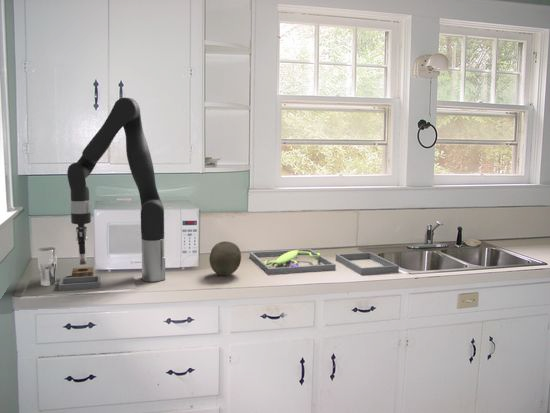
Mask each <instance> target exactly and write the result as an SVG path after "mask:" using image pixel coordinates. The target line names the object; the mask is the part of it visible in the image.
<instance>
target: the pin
mask: <svg viewBox="0 0 550 413" xmlns="http://www.w3.org/2000/svg"><path fill="white" fill-rule="evenodd" d="M84 237H85V236H84ZM88 239H89V238H88V236H87V235H86V239H85V254H79V253H78V262H79V265H87V264H88V263H87V261H88V260H87V244H86V243H87V242H86V241H88ZM75 241H76V242H78V239H77V236H76V238H75ZM81 241H83V240H80V242H81Z"/></svg>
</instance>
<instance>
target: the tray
mask: <svg viewBox="0 0 550 413" xmlns="http://www.w3.org/2000/svg"><path fill="white" fill-rule="evenodd" d="M101 279H102V278H101V275H93V276H85V277H72V276H70V277H60V279H59V283H58V291H68V290H69V291H70V290H71V291H73V290H85V289H100V288H101V283H102V282H101Z"/></svg>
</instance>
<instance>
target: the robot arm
mask: <svg viewBox="0 0 550 413" xmlns="http://www.w3.org/2000/svg"><path fill="white" fill-rule="evenodd" d="M141 115H142V114H141V108H140V105H139V103H138V102H137V100H135V99H134V98H131V97H120V98H119V99H117V100H116V101H115V102H114V104H113V106H112V108H111V110H110V113H109V114H108V116H107V118H106V120H104V122H103V124H102V126H101V127H100V128H99V129H98V131H97V132H95V134H94V136H93V137H92V139H91V140H89V142H88V143H87V145H86V146H85V147H84V148H83V150H82V151H81V152H82V153H81V154H82V155H81V156H80V158H79V159H78V160H77V162H73V163H71V164H70V165H68V167H67V173H66V174H67V175H66V176H67V181H68V185H69V188H70V220H71V224H73V225H77V227H75V232H76V237H77V239H78V241H77V245H78V255H79V254H85V239H86V236H87V231H88V229H87V228H88V227H87V226H86V225H87V224H91V222H92V216H91V213H92V212H91V211H92V210H91V203H90V188H89V187H88V186H87V181H86V179H87V178H88V177H89V176H90V175H91V174H92V172H93V170H94V169H95V167H96V165H97V163H98V161H100V160H101V158H102V157H103V156H104V155H105V153H106V152H107V150H108V149H109V148H110V146H111V145H112V142H113V140H114V138H115V137H116V136H117V134H119V131H121V129H122V128H123V131H124V136H125V149H126V158H127V161H128V165H129V166H128V167H129V169H130V173H131V175H132V178H133V181H134V182H135V185H136V187H137V190H138V193H139V194H138V195H139V198H140V199H139V201H140V207H141V208H140V234H141V235H140V236H141V276H142V277H141V279H142V281H144V282H160V281H164V280H165V281H166V256H165V208H164V204H163V202H162V199H161V197H160V195H159V192H158V188H157V184H156V177H155V176H156V175H155V171H154V170H155V169H154V165H153V160H152V156H151V153H150V152H151V151H150V149H149V146H148V142H147V139H146V137H145V133H144V130H143V123H142V116H141ZM84 236H85V237H84ZM80 240H83V241H81V242H80Z"/></svg>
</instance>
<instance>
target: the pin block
mask: <svg viewBox="0 0 550 413" xmlns="http://www.w3.org/2000/svg"><path fill="white" fill-rule="evenodd" d="M85 276H94V267H93V266H88V267H86V266H84V267H73V268H72V271H71V277H85Z"/></svg>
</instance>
